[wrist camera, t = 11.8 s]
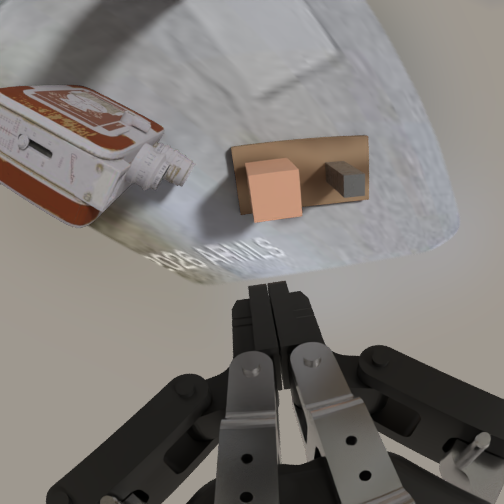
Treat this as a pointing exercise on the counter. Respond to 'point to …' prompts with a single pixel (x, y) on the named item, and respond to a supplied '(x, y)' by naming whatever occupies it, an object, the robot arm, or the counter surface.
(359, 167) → the board
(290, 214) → the peach foam brick
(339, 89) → the counter surface
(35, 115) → the cine camera
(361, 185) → the steel post
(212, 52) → the counter surface
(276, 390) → the robot arm
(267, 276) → the counter surface
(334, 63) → the counter surface
